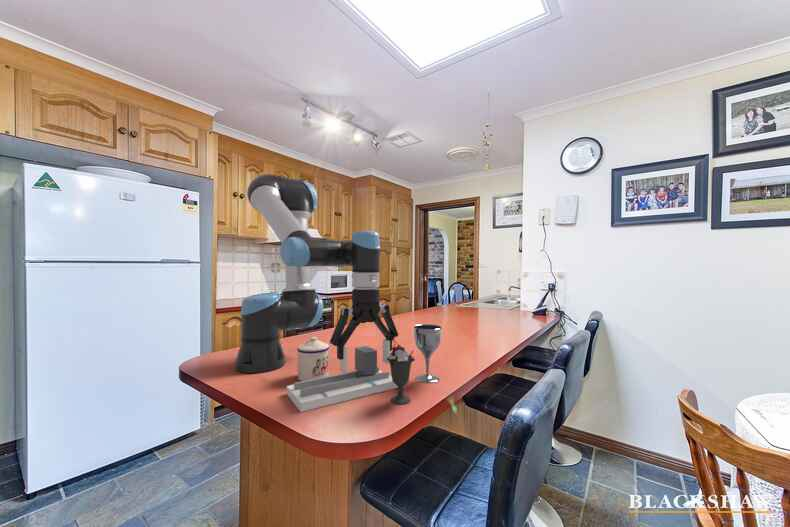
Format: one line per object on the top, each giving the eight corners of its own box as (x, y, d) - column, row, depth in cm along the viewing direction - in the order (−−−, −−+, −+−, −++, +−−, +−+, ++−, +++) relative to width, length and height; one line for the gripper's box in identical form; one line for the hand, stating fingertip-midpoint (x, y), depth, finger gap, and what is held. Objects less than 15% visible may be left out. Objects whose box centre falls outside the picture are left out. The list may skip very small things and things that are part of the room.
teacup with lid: (315, 384, 87) (316, 342, 87) (290, 380, 90) (290, 339, 90) (340, 371, 98) (340, 333, 98) (316, 367, 101) (317, 331, 101)
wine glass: (437, 385, 86) (437, 330, 87) (410, 381, 89) (410, 328, 90) (444, 376, 94) (444, 325, 94) (418, 372, 97) (418, 323, 97)
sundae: (381, 399, 77) (381, 337, 77) (402, 392, 81) (402, 334, 81) (397, 408, 72) (397, 342, 72) (419, 401, 76) (419, 338, 76)
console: (286, 393, 80) (286, 380, 80) (375, 374, 95) (375, 363, 95) (300, 412, 70) (300, 396, 70) (397, 387, 85) (397, 374, 85)
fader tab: (354, 375, 88) (354, 347, 88) (366, 372, 90) (366, 345, 90) (365, 381, 83) (365, 352, 83) (376, 379, 85) (377, 350, 85)
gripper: (328, 290, 76) (328, 379, 76) (410, 287, 90) (410, 362, 90) (317, 289, 83) (317, 371, 82) (395, 286, 96) (395, 356, 96)
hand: (365, 367), depth 86 cm, fingers open, 12 cm apart
